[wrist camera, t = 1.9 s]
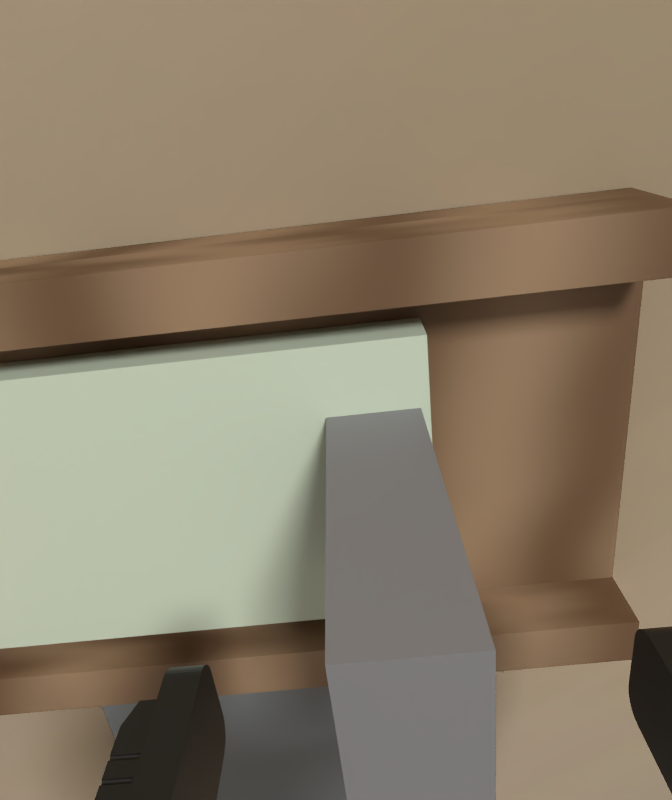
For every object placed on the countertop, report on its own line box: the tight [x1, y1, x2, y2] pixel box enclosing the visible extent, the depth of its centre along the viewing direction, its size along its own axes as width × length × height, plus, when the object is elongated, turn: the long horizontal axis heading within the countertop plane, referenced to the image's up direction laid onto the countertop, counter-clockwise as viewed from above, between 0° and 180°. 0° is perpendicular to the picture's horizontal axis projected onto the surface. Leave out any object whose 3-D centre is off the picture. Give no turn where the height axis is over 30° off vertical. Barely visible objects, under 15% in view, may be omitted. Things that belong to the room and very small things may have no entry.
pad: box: [102, 686, 347, 800], centre depth 26 cm, size 10×10×1 cm
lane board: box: [0, 188, 672, 715], centre depth 19 cm, size 30×14×3 cm, turn 96°
